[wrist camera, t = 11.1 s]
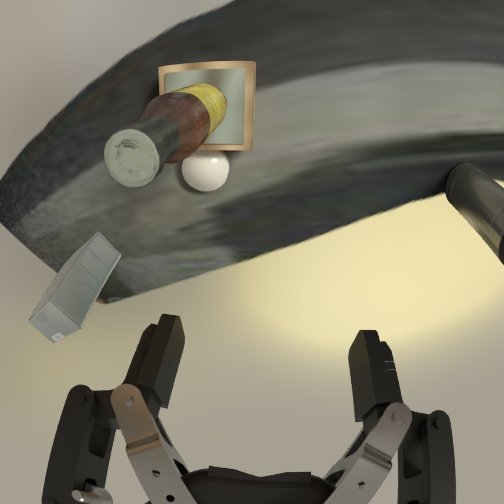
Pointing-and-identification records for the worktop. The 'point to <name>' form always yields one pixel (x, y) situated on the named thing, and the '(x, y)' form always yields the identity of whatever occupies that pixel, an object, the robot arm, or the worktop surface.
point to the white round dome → (206, 169)
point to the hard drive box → (75, 289)
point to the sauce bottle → (164, 133)
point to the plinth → (234, 89)
